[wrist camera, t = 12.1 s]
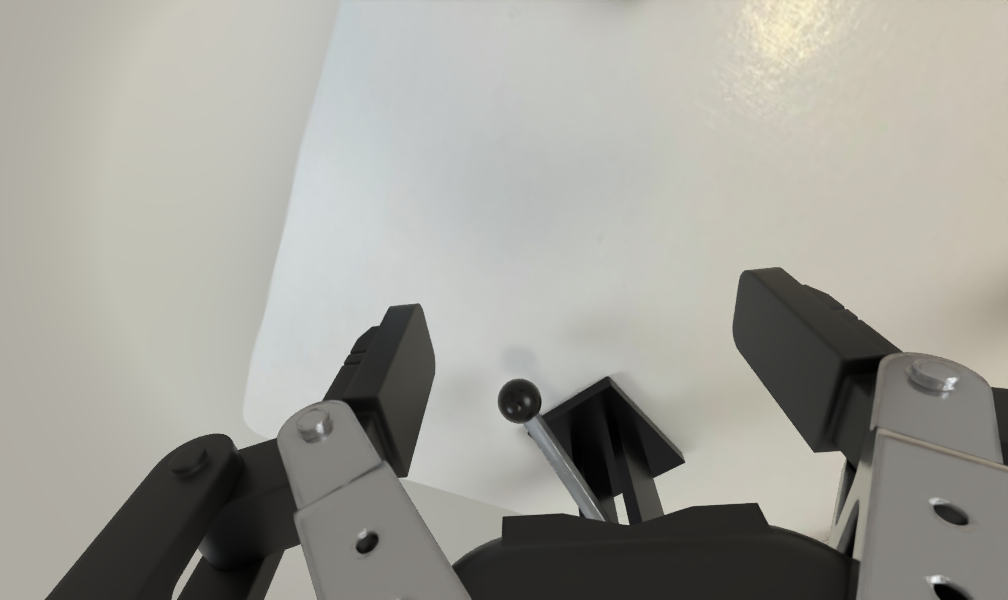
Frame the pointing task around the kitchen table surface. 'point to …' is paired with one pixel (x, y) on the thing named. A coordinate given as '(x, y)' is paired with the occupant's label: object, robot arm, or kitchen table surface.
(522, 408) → the lever
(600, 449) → the bracket
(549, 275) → the kitchen table surface
